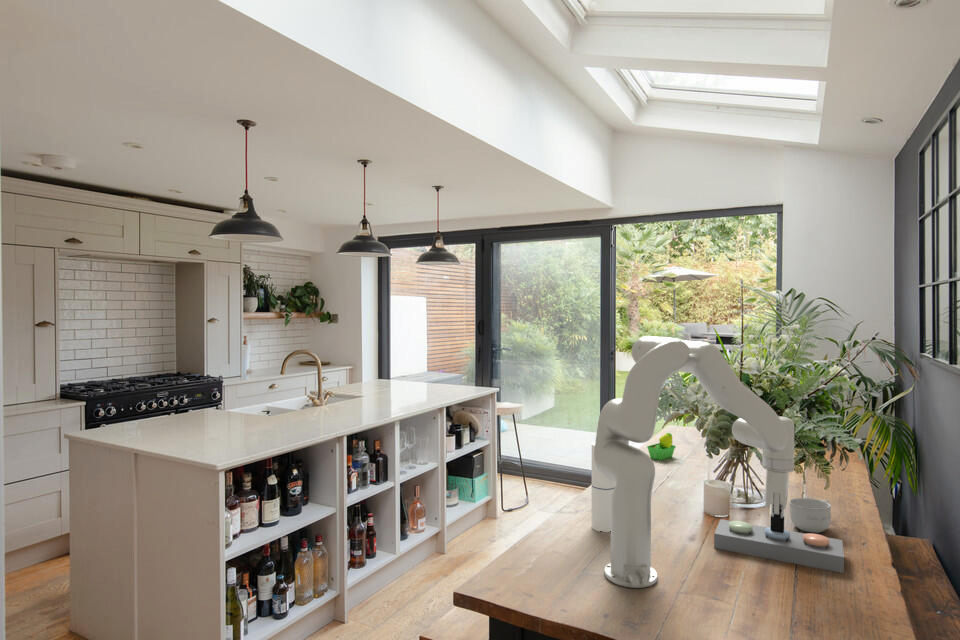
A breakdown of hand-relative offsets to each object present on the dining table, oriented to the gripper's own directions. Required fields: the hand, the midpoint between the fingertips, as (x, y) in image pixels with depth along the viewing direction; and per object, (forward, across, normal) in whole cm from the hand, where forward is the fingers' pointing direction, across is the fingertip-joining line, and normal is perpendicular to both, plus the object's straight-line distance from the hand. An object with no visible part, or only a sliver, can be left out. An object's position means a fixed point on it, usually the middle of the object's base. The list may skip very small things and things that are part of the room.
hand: (777, 530), depth 155 cm
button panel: (+6, 0, 0) cm, 6 cm away
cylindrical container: (+6, +7, -46) cm, 47 cm away
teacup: (+6, -23, +8) cm, 26 cm away
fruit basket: (+6, -82, -48) cm, 95 cm away
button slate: (+4, 0, 0) cm, 4 cm away
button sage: (+4, 0, -9) cm, 10 cm away
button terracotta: (+4, 0, +9) cm, 10 cm away
